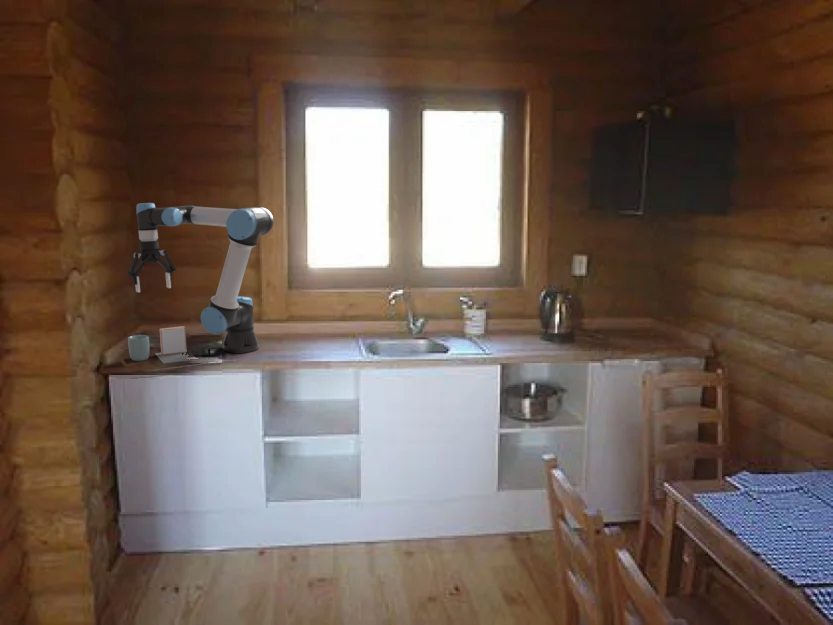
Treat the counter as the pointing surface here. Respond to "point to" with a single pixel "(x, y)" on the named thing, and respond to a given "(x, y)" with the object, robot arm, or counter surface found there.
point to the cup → (138, 347)
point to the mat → (172, 357)
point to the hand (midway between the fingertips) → (153, 290)
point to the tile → (173, 340)
